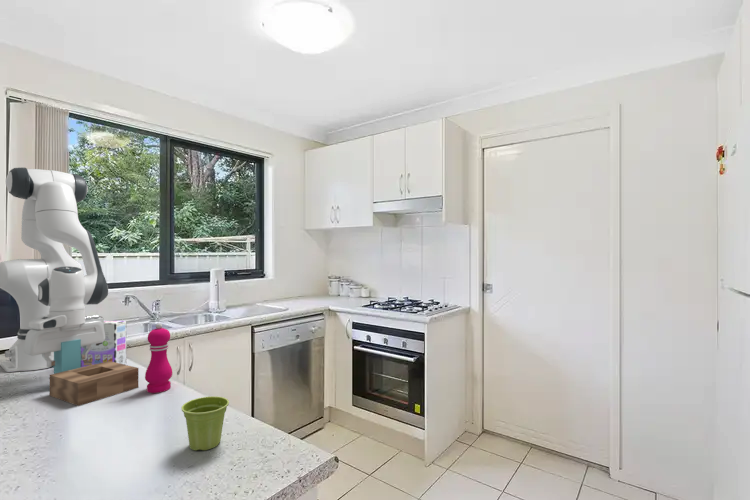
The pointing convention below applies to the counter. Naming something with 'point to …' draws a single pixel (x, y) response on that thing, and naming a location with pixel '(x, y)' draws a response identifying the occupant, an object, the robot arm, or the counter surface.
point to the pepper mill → (158, 361)
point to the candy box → (108, 345)
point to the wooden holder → (93, 382)
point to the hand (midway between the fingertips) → (67, 363)
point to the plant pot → (205, 421)
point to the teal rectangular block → (68, 356)
